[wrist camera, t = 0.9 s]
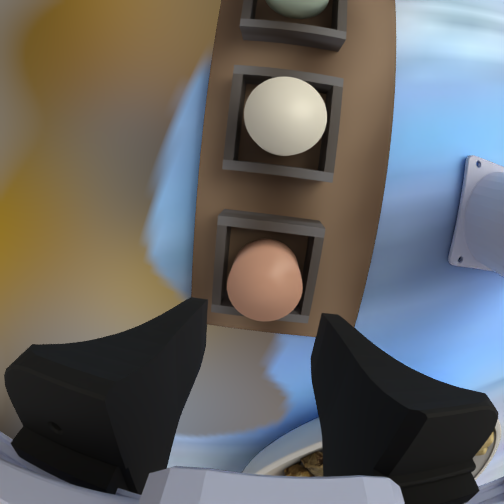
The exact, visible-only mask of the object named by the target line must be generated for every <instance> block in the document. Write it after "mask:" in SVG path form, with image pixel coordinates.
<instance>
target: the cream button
mask: <svg viewBox="0 0 504 504" xmlns="http://www.w3.org/2000/svg"><path fill="white" fill-rule="evenodd" d="M244 121H245V126H246V128H247V131H248V133H249V134H250V136H251V137H252V139H253V140H254V141H255V142H256V143H257V144H258V145H259V146H260V147H261V148H262V149H263V150H265V151H267V152H269V153H271V154H274V155H279V156H290V155H295V154H299V153H302V152H304V151H306V150H308V149H310V148H311V147H313V146H314V145H315V144H316V143H317V142H318V141H319V139H320V138H321V137H322V135H323V133H324V131H325V128H326V123H327V111H326V107H325V104H324V101H323V99H322V97H321V96H320V94H319V93H318V92H317V91H316V90H315V89H314V88H313V87H312V86H311V85H310V84H308V83H306V82H305V81H302V80H300V79H297V78H293V77H275V78H272V79H269V80H266V81H264V82H263V83H261V84H259V85H258V86H257V87H256V88H255V89H254V90H253V91H252V92H251V94H250V95H249V97H248V99H247V101H246V104H245V109H244Z"/></svg>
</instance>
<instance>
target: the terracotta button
mask: <svg viewBox="0 0 504 504" xmlns="http://www.w3.org/2000/svg"><path fill="white" fill-rule="evenodd" d="M302 289H303V286H302V279H301V274H300V270H299V266H298V262H297V259H296V256H295V254H294V253H293V252H292V250H291V249H290V248H289V247H288V246H287V245H285V244H284V243H282V242H280V241H277V240H274V239H267V238H264V239H257V240H254V241H251V242H249V243H248V244H246V245H245V246H244V247H243V248H241V250H240V251H239V252H238V254H237V255H236V258H235V260H234V263H233V265H232V268H231V271H230V274H229V277H228V280H227V293H228V296H229V299H230V301H231V303H232V305H233V306H234V307H235V309H236V310H237V311H238V312H240V313H241V314H242V315H244V316H246V317H247V318H250V319H253V320H256V321H274V320H278V319H280V318H283V317H284V316H286V315H288V314H289V313H290V312H291V311H292V310H293V309H294V308H295V307H296V306H297V304H298V303H299V301H300V298H301V295H302Z"/></svg>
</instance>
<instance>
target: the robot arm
mask: <svg viewBox="0 0 504 504" xmlns="http://www.w3.org/2000/svg"><path fill="white" fill-rule="evenodd" d="M476 162H478V167H477V166H476ZM459 257H461V259H460V261H458V259H459ZM448 261H449V263H450V264H452V265H454V266H461V267H468V268H475V269H482V270H488V271H494V272H496V273H498V274H499V275H501V276H502V277H504V167H503V166H500V165H498V164H495V163H493V162H490V161H488V160H485V159H482V158H480V157H477V156H474V155H469V156H468V157H467V158H466V164H465V172H464V180H463V187H462V193H461V199H460V205H459V211H458V216H457V221H456V226H455V231H454V235H453V240H452V244H451V248H450V252H449V256H448ZM207 310H208V299H201V298H194V297H191V298H189V299H187V300H185V301H184V302H182V303H180V304H179V305H177V306H175V307H174V308H172V309H170V310H169V311H167V312H165V313H163V314H162V315H160V316H158V317H156V318H154V319H152V320H150V321H148V322H146V323H144V324H142V325H139V326H137V327H135V328H132V329H129V330H127V331H124V332H121V333H118V334H115V335H110V336H106V337H103V338H99V339H94V340H89V341H84V342H77V343H67V344H46V345H44V344H43V345H35V344H32V345H31V346H30V347H29V348H28V349H27V350H26V351H25V352H24V353H23V354H21V355H20V356H19V357H18V358H17V359H16V360H15V361H14V362H13V363H12V364H11V365H10V366H9V367H8V368H7V369H6V372H5V375H4V377H5V386H6V389H7V392H8V395H9V397H10V399H11V402H12V404H13V406H14V408H15V410H16V412H17V414H18V416H19V418H20V420H21V422H22V424H23V428H22V429H21V430H20V431H19V433H18V434H17V435H16V437H15V438H14V439H11V438H9V437H8V436H6V435H5V434H3V433H1V432H0V504H504V477H502V478H499V479H497V480H494V481H492V482H489V483H487V484H484V485H481V486H479V487H478V486H477V484H476V481H475V479H474V477H473V475H472V473H471V472H473V471H474V470H475V469H476V465H475V462H474V460H473V457H474V456H475V455H476V454H477V453H478V451H479V450H480V449H481V448H482V446H483V445H484V444H485V442H486V441H487V440H488V438H489V437H490V435H491V434H492V432H493V431H494V429H495V426H496V423H497V420H498V412H497V410H496V408H495V407H494V405H493V404H492V402H491V401H490V399H489V398H488V396H487V395H486V394H485V393H481V392H476V391H472V390H468V389H463V388H459V387H456V386H453V385H450V384H447V383H444V382H441V381H438V380H435V379H433V378H430V377H428V376H426V375H424V374H422V373H420V372H417V371H415V370H413V369H411V368H409V367H408V366H406V365H404V364H402V363H401V362H399V361H397V360H396V359H394V358H393V357H391V356H390V355H388V354H387V353H385V352H384V351H382V350H381V349H380V348H378V347H377V346H376V345H374V344H373V343H372V342H371V341H369V340H368V339H367V338H366V337H364V336H363V335H362V334H361V333H360V332H359V331H357V330H356V329H355V328H354V327H353V326H352V325H351V324H349V323H348V322H347V321H346V320H345V319H343V318H342V317H341V316H339V315H338V314H329V313H321V318H320V322H319V326H318V331H317V335H316V339H315V343H314V347H313V351H312V355H311V375H312V384H313V389H314V395H315V400H316V405H317V410H318V415H319V421H320V426H321V433H322V449H323V477H293V476H273V475H259V474H248V473H239V472H231V471H224V470H217V469H210V468H197V467H182V466H175V467H171V468H167V465H168V460H169V456H170V452H171V448H172V444H173V440H174V437H175V433H176V429H177V426H178V422H179V419H180V416H181V413H182V410H183V408H184V406H185V403H186V401H187V398H188V396H189V394H190V391H191V389H192V387H193V384H194V382H195V379H196V377H197V374H198V372H199V370H200V367H201V363H202V359H203V355H204V351H205V347H206V330H207Z"/></svg>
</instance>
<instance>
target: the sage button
mask: <svg viewBox="0 0 504 504" xmlns="http://www.w3.org/2000/svg"><path fill="white" fill-rule="evenodd" d="M265 1H266V2H267V4H268V5H269V7H270V8H271V9H272V10H274V11H275V12H277V13H278V14H280V15H283V16H285V17H289V18H294V19H307V18H311V17H314V16H316V15H318V14H320V13H321V12H323V11H324V9H325V8H326V7H327V5H328V2H329V0H265Z"/></svg>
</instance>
